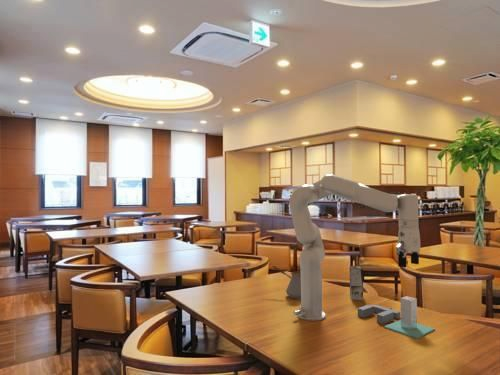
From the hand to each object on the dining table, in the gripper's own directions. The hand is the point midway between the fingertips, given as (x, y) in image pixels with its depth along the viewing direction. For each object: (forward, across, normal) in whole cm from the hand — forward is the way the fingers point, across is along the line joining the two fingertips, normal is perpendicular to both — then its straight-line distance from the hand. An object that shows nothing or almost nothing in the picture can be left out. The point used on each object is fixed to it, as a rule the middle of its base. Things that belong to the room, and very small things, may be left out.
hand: (408, 265), depth 147 cm
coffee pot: (+27, -7, +65) cm, 70 cm away
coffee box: (+26, +19, +40) cm, 52 cm away
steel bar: (+26, 0, 0) cm, 26 cm away
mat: (+26, 0, 0) cm, 26 cm away
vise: (+26, +4, +16) cm, 31 cm away
